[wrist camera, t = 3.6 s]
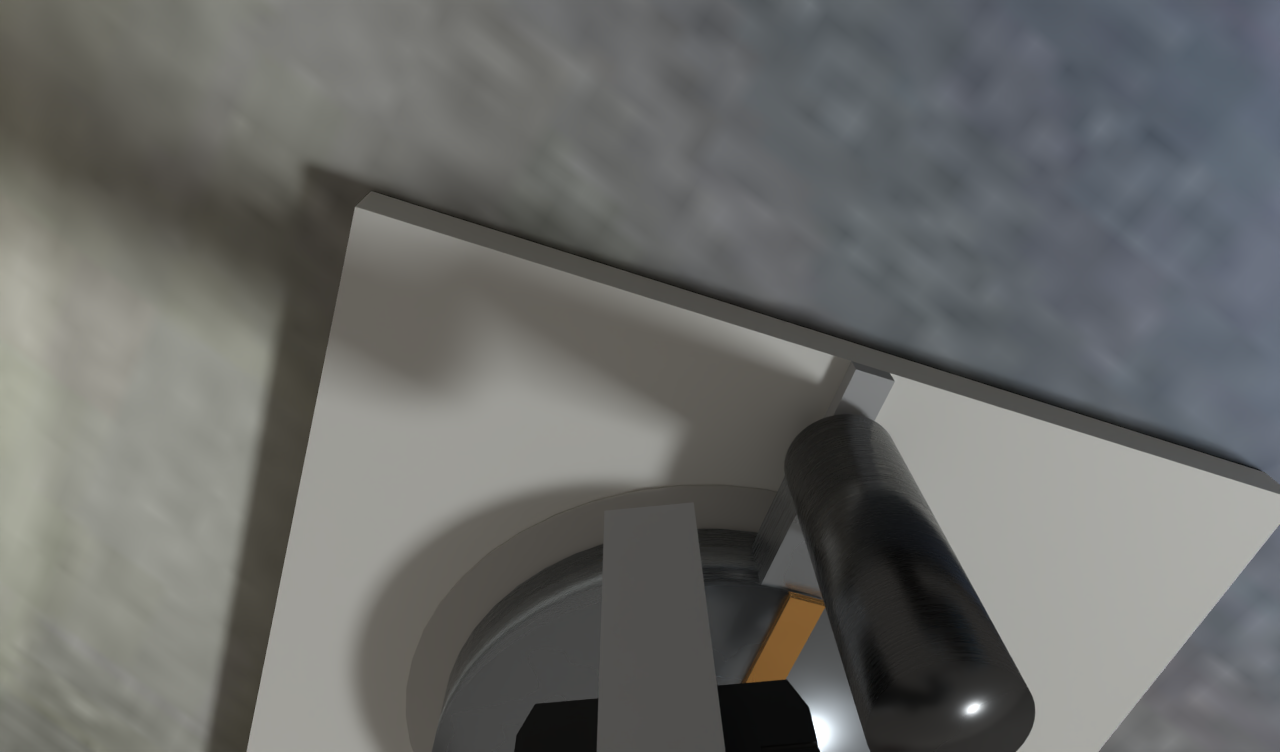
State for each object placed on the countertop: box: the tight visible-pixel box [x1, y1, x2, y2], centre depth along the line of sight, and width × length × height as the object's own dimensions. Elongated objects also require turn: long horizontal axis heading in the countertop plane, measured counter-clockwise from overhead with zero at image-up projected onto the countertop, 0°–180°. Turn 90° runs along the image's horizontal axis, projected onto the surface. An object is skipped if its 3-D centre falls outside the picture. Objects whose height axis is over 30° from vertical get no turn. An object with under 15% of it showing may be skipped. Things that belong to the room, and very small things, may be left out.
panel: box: [247, 191, 1280, 752], centre depth 24 cm, size 22×22×2 cm
